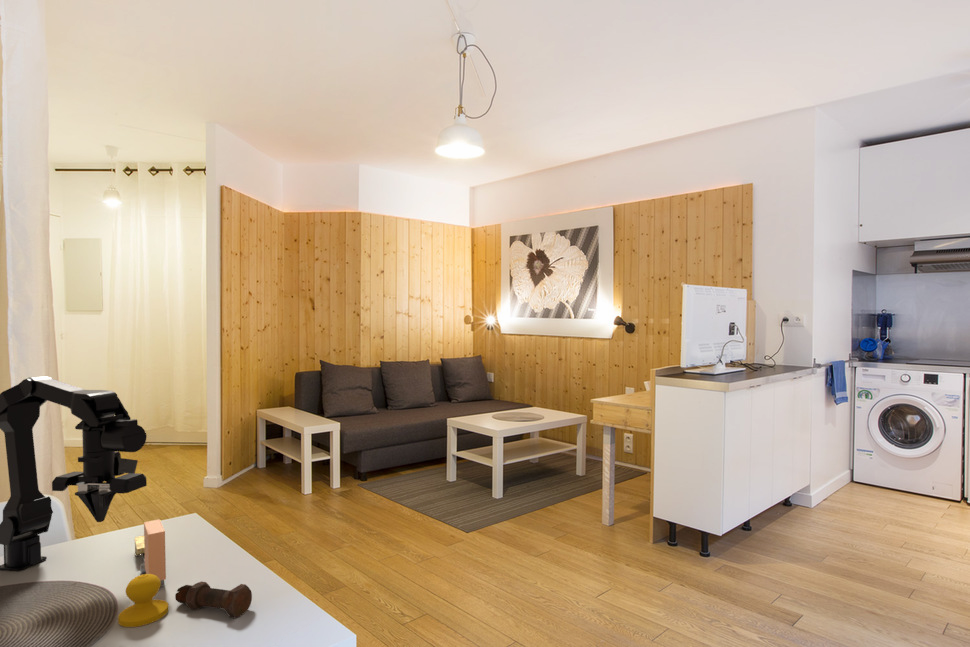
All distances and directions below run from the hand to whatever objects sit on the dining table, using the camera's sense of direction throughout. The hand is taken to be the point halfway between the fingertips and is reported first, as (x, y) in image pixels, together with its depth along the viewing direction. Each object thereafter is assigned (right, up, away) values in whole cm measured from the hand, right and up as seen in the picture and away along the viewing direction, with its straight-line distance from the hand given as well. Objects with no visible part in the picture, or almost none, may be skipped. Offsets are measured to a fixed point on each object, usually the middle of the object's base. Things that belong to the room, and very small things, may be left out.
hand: (100, 521), depth 120 cm
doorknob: (+20, -12, -17) cm, 28 cm away
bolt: (+31, -12, -14) cm, 36 cm away
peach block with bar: (+10, -12, +2) cm, 16 cm away
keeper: (+4, -12, +11) cm, 16 cm away
